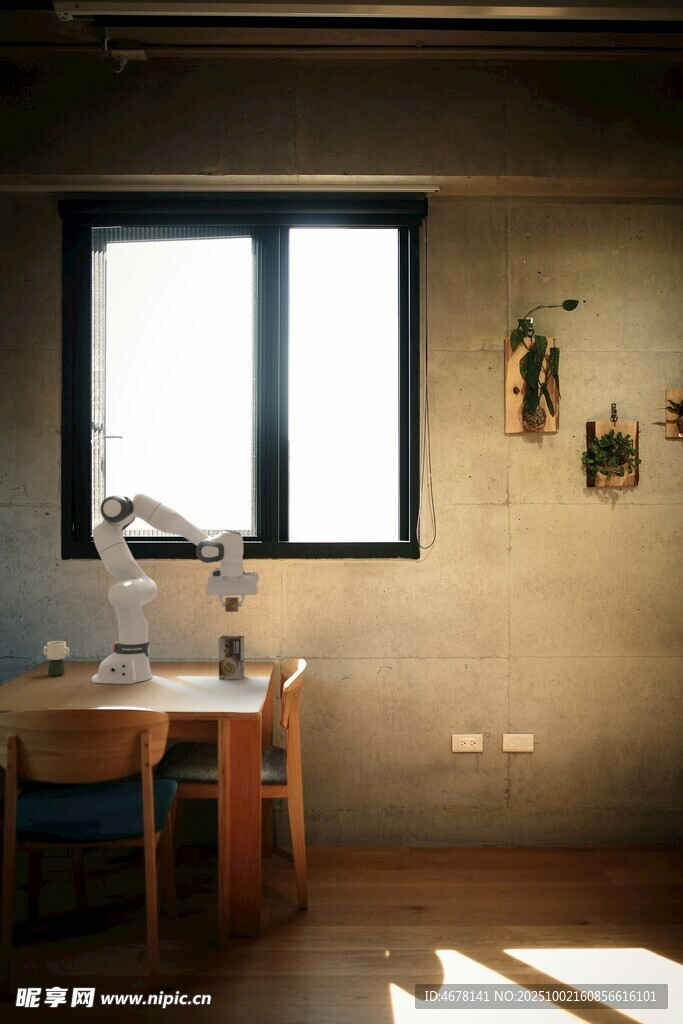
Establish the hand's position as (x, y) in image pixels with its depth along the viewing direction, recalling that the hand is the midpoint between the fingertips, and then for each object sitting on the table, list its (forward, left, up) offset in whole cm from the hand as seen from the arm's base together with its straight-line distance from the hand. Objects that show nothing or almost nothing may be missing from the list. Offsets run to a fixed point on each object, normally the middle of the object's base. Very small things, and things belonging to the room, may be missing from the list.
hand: (231, 606), depth 298 cm
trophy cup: (-69, +11, -28) cm, 75 cm away
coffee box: (0, 0, -28) cm, 28 cm away
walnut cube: (0, 0, -2) cm, 2 cm away
